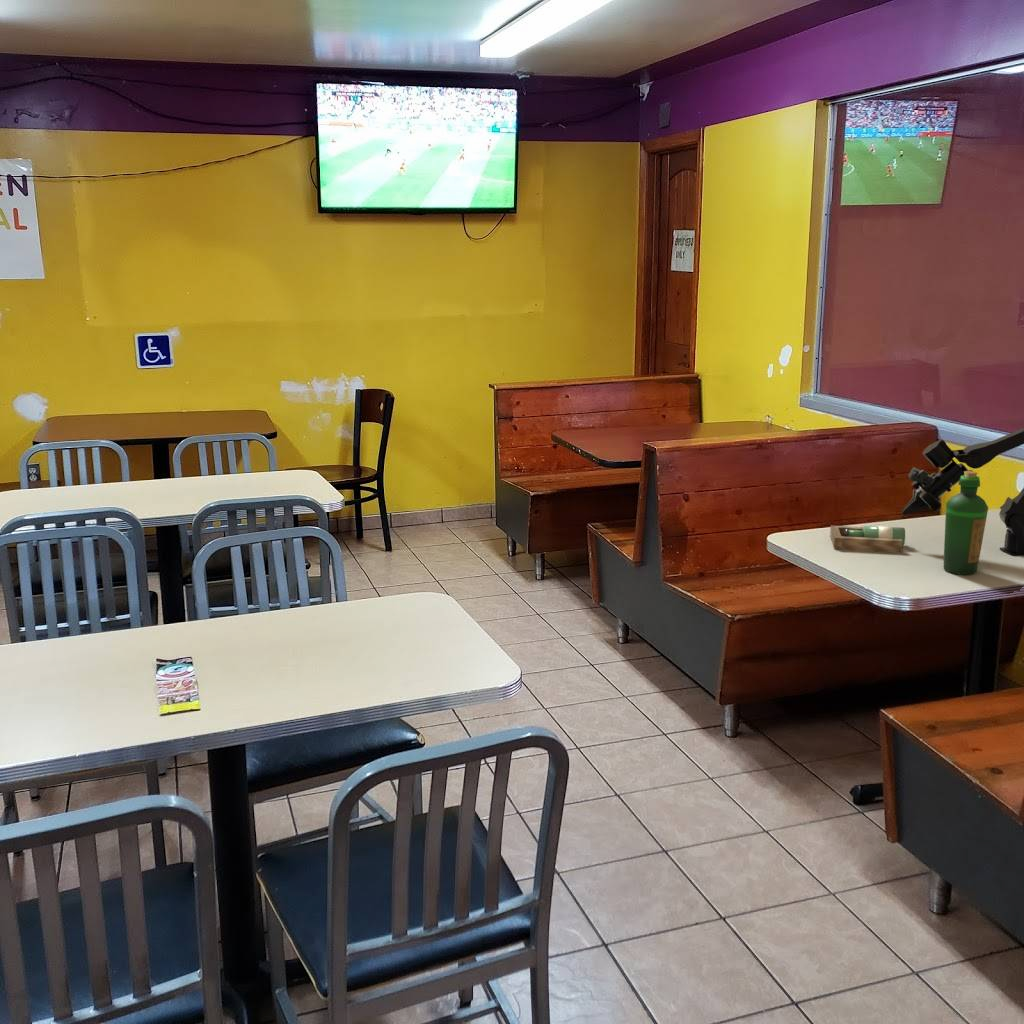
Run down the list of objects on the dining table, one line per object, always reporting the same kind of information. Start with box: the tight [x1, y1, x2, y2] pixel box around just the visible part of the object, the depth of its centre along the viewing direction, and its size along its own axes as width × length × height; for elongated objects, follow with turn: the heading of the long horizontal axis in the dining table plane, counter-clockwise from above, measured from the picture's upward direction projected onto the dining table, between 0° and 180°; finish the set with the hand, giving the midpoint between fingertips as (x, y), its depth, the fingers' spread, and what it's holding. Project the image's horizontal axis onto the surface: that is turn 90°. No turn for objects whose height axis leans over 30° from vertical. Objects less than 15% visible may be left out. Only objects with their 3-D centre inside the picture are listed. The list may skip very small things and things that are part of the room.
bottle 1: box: [844, 525, 906, 547], centre depth 308 cm, size 6×6×17 cm
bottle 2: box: [943, 470, 989, 576], centre depth 280 cm, size 11×11×28 cm
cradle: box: [829, 525, 903, 554], centre depth 309 cm, size 19×14×4 cm
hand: (902, 513), depth 305 cm, fingers closed
